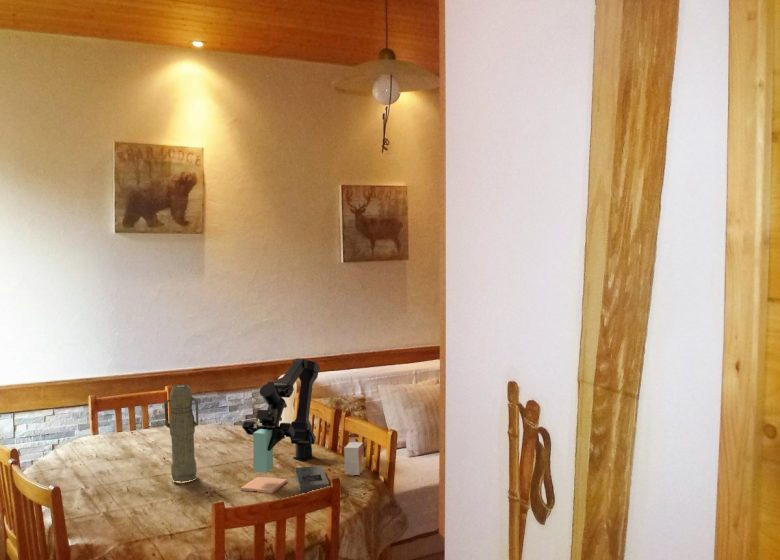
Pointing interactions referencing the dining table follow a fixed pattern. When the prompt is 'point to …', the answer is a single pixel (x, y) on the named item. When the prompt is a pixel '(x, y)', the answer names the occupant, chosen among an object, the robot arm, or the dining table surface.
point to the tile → (264, 484)
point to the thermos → (182, 432)
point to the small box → (354, 458)
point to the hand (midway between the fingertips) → (261, 450)
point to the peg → (262, 451)
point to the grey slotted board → (310, 478)
